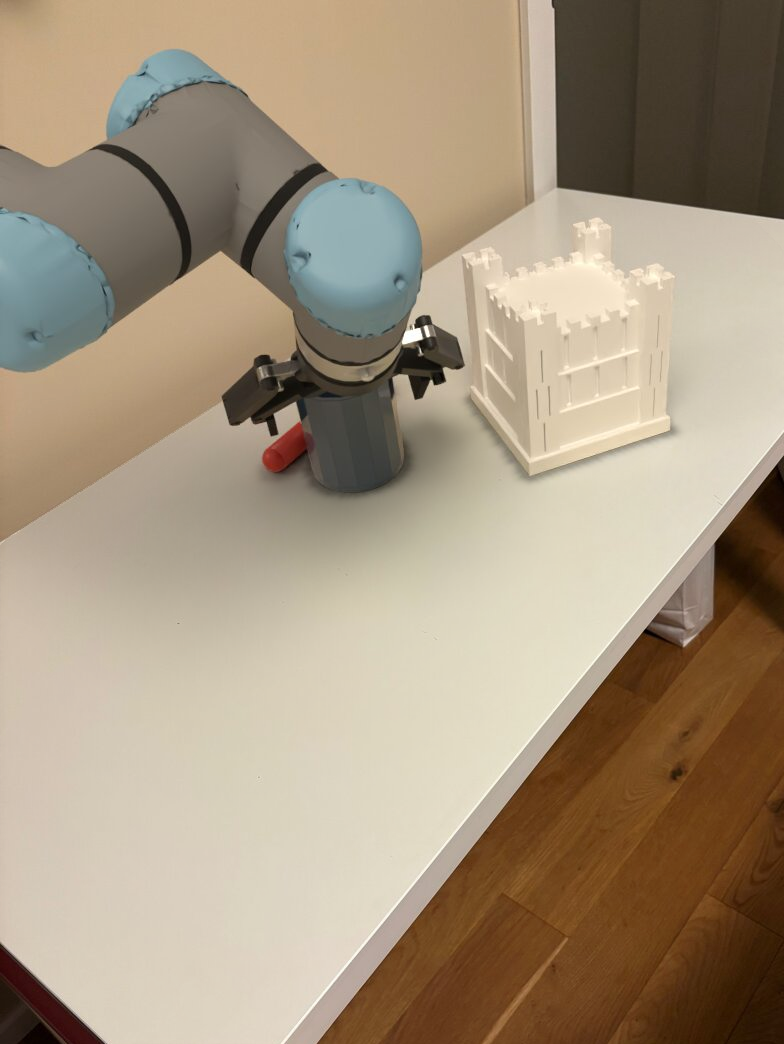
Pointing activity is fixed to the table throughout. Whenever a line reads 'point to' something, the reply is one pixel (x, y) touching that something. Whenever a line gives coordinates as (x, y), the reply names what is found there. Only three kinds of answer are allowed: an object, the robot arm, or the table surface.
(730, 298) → the table surface
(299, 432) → the spoon
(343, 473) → the mug
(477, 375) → the castle model
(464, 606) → the table surface
